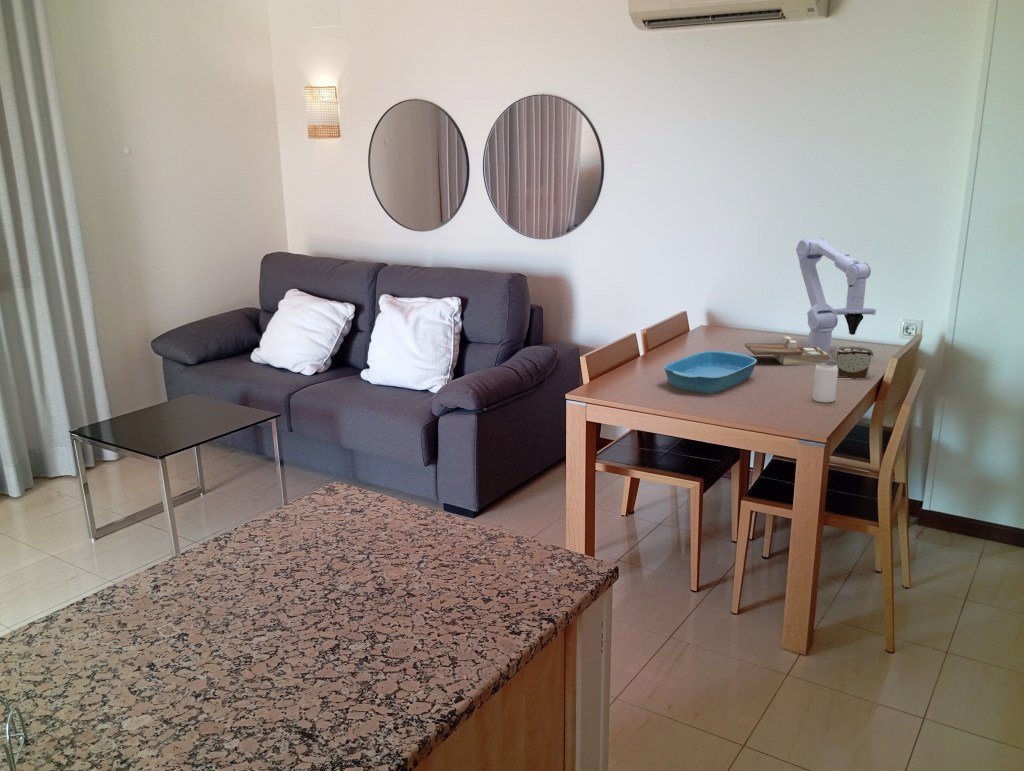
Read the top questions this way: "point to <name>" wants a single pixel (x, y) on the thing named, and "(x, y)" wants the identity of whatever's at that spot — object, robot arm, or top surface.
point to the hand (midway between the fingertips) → (852, 334)
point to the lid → (775, 348)
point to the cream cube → (808, 350)
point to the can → (825, 381)
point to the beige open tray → (803, 358)
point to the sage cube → (812, 353)
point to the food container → (853, 361)
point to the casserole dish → (710, 371)
